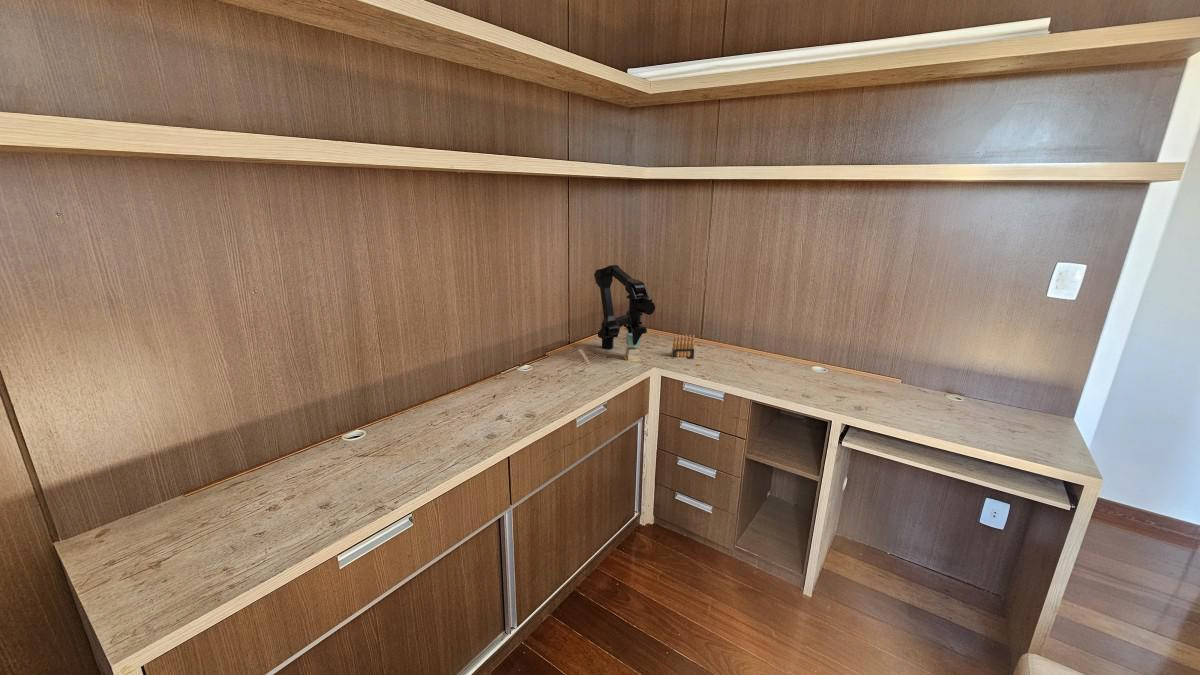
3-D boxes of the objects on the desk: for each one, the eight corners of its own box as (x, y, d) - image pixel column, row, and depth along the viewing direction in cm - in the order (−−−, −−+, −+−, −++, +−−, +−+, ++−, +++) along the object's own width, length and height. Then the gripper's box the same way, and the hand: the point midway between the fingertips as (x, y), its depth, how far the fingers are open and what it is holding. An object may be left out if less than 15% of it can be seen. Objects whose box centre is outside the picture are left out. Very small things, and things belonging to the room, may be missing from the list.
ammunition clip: (672, 359, 234) (674, 335, 230) (670, 358, 236) (673, 333, 232) (693, 358, 236) (696, 334, 232) (692, 357, 238) (694, 333, 234)
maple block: (625, 357, 231) (625, 346, 230) (635, 356, 232) (636, 346, 231) (628, 360, 227) (629, 350, 225) (638, 360, 228) (639, 349, 226)
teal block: (625, 343, 229) (626, 333, 228) (636, 343, 230) (637, 332, 229) (629, 347, 225) (629, 336, 223) (639, 346, 226) (640, 336, 224)
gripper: (612, 305, 229) (610, 337, 234) (623, 315, 212) (621, 350, 217) (635, 304, 232) (633, 336, 237) (648, 314, 215) (645, 349, 219)
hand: (632, 343), depth 227 cm, fingers closed on teal block, 5 cm apart
